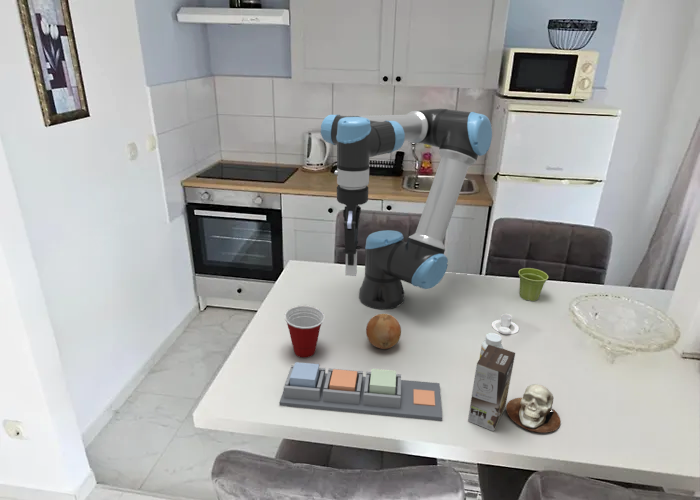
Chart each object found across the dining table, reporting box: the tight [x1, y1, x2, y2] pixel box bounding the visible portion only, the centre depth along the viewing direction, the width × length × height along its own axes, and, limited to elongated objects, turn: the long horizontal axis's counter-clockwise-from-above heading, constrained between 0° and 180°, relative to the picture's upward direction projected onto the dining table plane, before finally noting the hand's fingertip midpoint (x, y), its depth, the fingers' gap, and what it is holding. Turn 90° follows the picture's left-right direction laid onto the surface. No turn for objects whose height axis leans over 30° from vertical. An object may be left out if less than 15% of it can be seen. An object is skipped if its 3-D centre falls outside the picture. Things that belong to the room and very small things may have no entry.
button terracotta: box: [329, 368, 358, 392], centre depth 117 cm, size 6×6×3 cm
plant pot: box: [518, 267, 549, 302], centre depth 163 cm, size 9×9×9 cm
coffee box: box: [467, 345, 516, 432], centre depth 110 cm, size 9×6×16 cm
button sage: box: [369, 368, 397, 395], centre depth 116 cm, size 6×6×3 cm
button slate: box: [290, 361, 320, 388], centre depth 118 cm, size 6×6×3 cm
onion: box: [365, 313, 402, 350], centre depth 136 cm, size 10×10×10 cm
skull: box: [505, 383, 562, 434], centre depth 113 cm, size 12×10×10 cm
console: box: [278, 364, 443, 422], centre depth 118 cm, size 38×12×4 cm, turn 83°
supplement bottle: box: [478, 332, 504, 359], centre depth 127 cm, size 5×5×10 cm
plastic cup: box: [283, 304, 326, 359], centre depth 132 cm, size 11×11×12 cm
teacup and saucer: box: [491, 313, 520, 335], centre depth 147 cm, size 9×8×4 cm
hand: (351, 274), depth 124 cm, fingers closed
